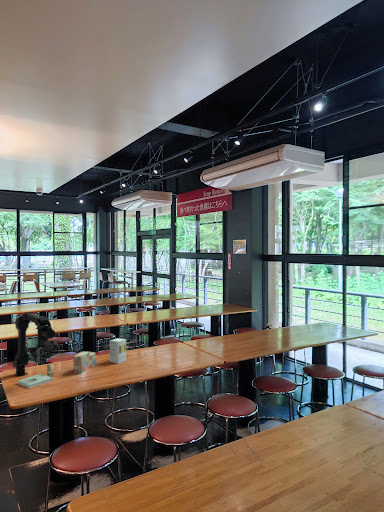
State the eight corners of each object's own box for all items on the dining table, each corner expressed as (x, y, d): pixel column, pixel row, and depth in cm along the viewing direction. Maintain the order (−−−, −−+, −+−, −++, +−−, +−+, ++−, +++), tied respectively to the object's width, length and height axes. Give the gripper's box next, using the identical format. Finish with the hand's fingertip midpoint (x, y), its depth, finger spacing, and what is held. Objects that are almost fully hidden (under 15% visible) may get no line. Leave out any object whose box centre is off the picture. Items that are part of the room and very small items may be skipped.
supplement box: (118, 363, 264) (118, 341, 264) (109, 362, 269) (109, 340, 269) (126, 360, 272) (126, 339, 273) (117, 358, 277) (117, 337, 277)
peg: (45, 376, 237) (45, 365, 237) (51, 375, 240) (51, 363, 241) (49, 377, 235) (49, 366, 235) (55, 376, 238) (54, 364, 238)
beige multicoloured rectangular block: (88, 364, 264) (88, 348, 265) (96, 364, 263) (96, 348, 263) (73, 373, 244) (73, 355, 244) (81, 373, 242) (81, 356, 242)
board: (17, 383, 224) (17, 380, 224) (41, 376, 237) (41, 373, 237) (29, 388, 216) (29, 385, 216) (52, 380, 229) (52, 377, 229)
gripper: (34, 341, 213) (34, 366, 213) (62, 335, 228) (62, 359, 228) (25, 338, 220) (26, 363, 220) (53, 333, 235) (53, 356, 235)
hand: (42, 360), depth 226 cm, fingers open, 9 cm apart
